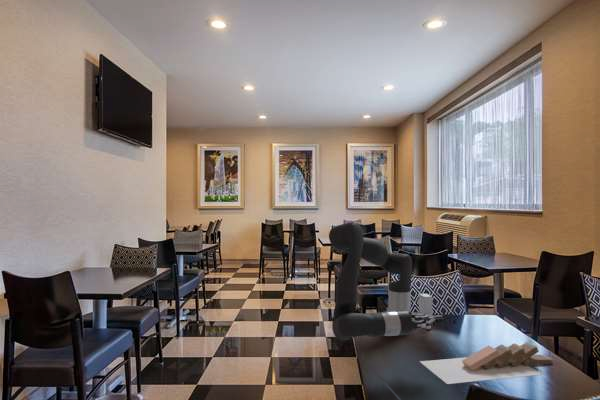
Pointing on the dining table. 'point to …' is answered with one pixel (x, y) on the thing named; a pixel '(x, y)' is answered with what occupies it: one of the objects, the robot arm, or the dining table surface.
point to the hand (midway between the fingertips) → (442, 318)
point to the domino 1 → (503, 354)
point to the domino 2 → (516, 353)
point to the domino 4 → (537, 360)
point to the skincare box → (425, 304)
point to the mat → (458, 373)
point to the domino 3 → (529, 352)
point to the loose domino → (480, 358)
